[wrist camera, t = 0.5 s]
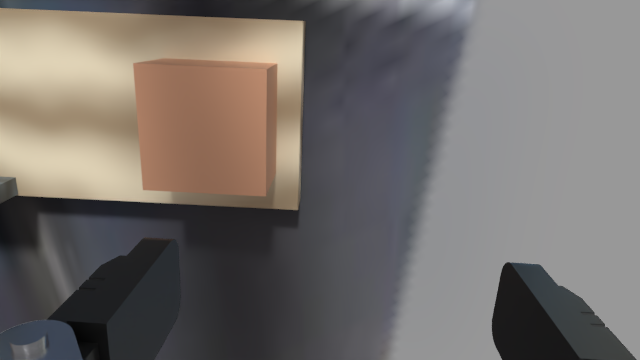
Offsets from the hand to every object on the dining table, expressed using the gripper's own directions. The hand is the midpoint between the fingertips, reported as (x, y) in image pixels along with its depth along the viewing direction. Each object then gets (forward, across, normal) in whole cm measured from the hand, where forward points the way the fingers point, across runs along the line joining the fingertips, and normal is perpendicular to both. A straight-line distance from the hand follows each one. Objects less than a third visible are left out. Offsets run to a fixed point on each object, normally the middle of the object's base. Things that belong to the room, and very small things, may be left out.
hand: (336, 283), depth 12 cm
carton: (+19, +7, 0) cm, 20 cm away
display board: (+21, +16, 0) cm, 27 cm away
